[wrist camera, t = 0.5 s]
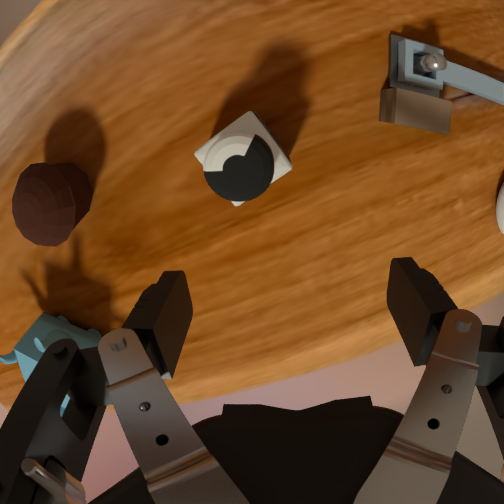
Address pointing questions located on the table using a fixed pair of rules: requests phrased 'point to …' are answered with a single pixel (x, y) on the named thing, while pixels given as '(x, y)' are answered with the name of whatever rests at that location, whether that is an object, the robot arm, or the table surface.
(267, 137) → the medicine bottle
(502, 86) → the link
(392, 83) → the pintle block
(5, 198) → the table surface
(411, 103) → the block
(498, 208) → the flower in vase
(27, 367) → the teakettle
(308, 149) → the table surface
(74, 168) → the muffin
